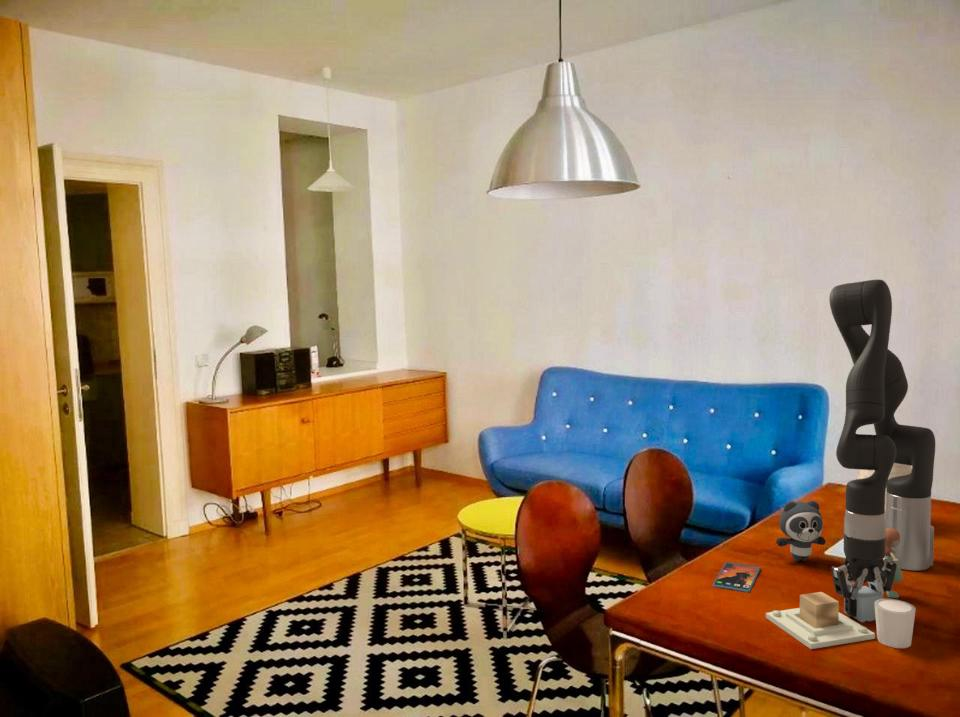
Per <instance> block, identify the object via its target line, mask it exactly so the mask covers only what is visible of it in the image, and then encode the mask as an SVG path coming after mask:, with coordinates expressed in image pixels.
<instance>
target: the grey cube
mask: <svg viewBox="0 0 960 717" xmlns="http://www.w3.org/2000/svg"><path fill="white" fill-rule="evenodd" d="M851 591H852V587H851ZM851 591H850V592H851ZM879 599H884V594H883V595H882V594H880V593H878V592H876V591H874V590H872V589H871V588H870V587H869V586H867V585H862V588H861V589H860V590H859V591H858V594H857V597H856V600H857V615H856V617H852V618H853V619H855V620H856V619H857V621H858V622H860V623H866V622H865V621H868V622H873V620H874V621H876V616H875V605H874V604H875V601H877V600H879ZM843 601H844V602H843V612H844V613H845V614H847V613H846V612H845V598H844V597H843ZM847 615H848V614H847Z"/></svg>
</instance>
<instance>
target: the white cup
mask: <svg viewBox="0 0 960 717" xmlns="http://www.w3.org/2000/svg"><path fill="white" fill-rule="evenodd" d="M874 605H875V616H876V620H875V624H876V625H875V626H876V639H877V641H878V642H879V644H883V645H884V646H887V647H890V648H895V649H907V648H909V647H911V646H912V641H913V633H914V625H915V616H916V607H915V606H914V605H913V604H911V603H909V602H907V601H904V600H901V599H897V598H883V599H879V600H877V601H875V604H874Z"/></svg>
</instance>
